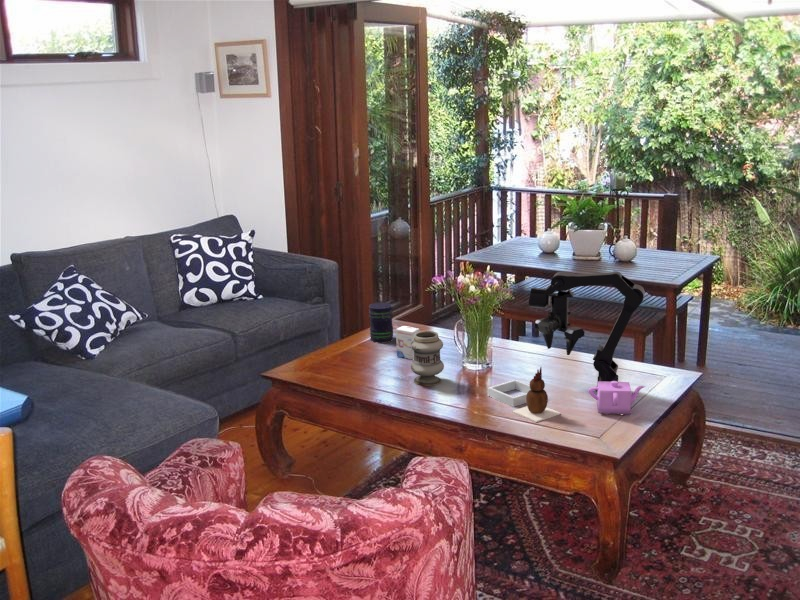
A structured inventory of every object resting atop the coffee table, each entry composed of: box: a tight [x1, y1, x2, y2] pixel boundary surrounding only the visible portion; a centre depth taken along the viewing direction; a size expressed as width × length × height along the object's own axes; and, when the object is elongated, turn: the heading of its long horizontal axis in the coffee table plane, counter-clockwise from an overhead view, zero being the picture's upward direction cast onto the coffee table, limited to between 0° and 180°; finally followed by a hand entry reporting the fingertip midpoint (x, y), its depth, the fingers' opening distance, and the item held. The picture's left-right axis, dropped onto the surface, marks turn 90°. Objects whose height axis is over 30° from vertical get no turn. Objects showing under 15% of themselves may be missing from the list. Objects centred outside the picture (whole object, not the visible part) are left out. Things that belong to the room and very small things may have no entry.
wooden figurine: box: [526, 366, 549, 413], centre depth 279 cm, size 7×6×15 cm
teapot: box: [587, 380, 646, 415], centre depth 279 cm, size 18×14×10 cm
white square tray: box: [487, 379, 531, 408], centre depth 295 cm, size 13×13×3 cm
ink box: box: [395, 325, 421, 360], centre depth 339 cm, size 9×5×12 cm, turn 55°
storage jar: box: [368, 301, 394, 344], centre depth 362 cm, size 10×10×15 cm
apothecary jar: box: [410, 330, 445, 387], centre depth 310 cm, size 12×12×18 cm
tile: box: [512, 405, 561, 423], centre depth 281 cm, size 11×11×1 cm
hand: (558, 351), depth 300 cm, fingers open, 9 cm apart
